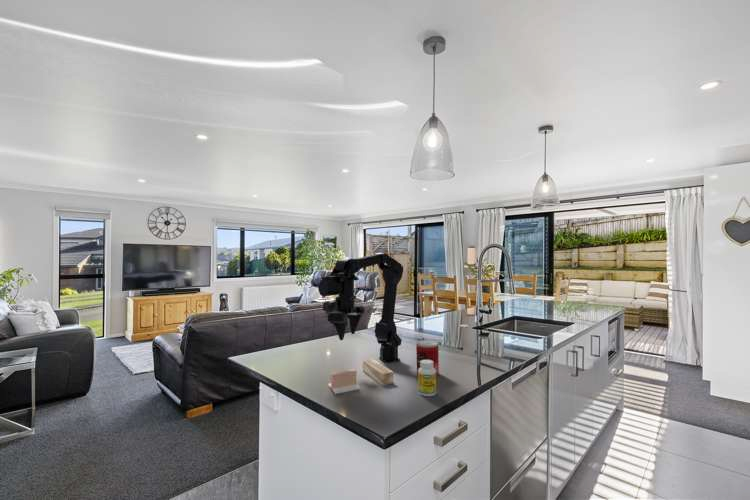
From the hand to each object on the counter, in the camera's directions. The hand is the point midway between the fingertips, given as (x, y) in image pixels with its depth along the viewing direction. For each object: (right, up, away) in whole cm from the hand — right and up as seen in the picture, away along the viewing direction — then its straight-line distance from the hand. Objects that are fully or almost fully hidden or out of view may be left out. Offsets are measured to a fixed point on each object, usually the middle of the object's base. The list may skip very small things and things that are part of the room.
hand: (347, 336), depth 121 cm
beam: (+11, -13, -4) cm, 17 cm away
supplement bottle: (+26, -12, -19) cm, 34 cm away
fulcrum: (0, -13, -14) cm, 19 cm away
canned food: (+29, -13, -2) cm, 31 cm away
